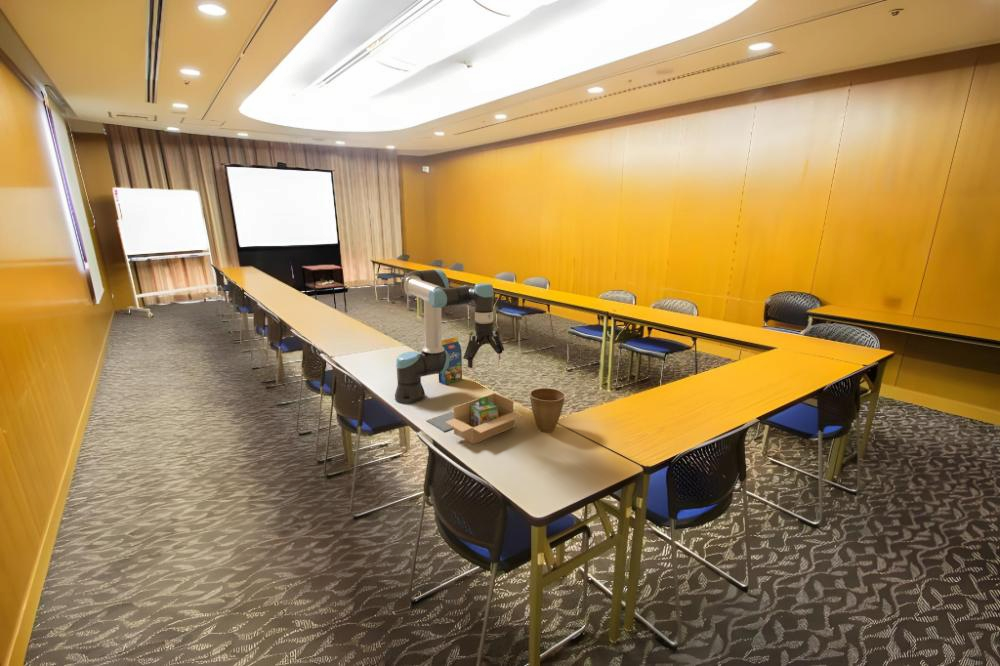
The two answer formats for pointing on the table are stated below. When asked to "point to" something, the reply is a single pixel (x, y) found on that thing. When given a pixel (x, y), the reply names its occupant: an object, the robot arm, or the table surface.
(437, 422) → the mat
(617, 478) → the table surface
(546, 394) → the plant pot
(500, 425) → the carton
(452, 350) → the blue food package
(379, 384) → the table surface
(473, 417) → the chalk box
